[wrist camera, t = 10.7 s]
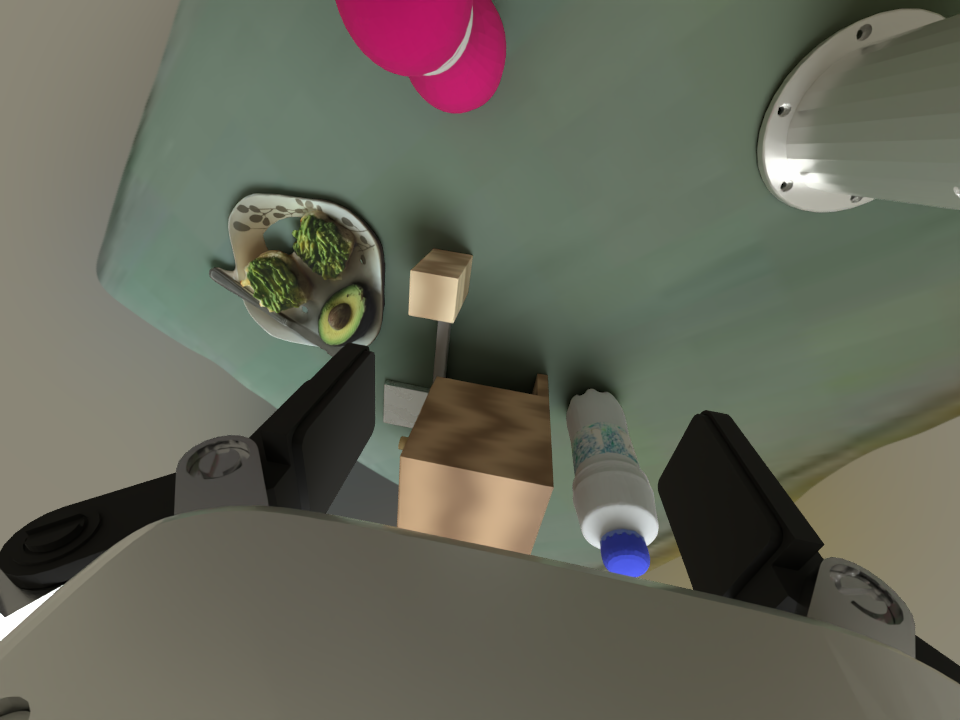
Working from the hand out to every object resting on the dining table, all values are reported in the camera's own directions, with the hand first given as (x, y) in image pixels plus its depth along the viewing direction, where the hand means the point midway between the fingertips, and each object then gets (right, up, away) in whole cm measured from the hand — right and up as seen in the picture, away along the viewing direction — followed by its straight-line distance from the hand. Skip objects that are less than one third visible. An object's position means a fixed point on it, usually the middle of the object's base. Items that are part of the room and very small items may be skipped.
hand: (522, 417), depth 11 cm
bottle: (+12, -4, +33) cm, 35 cm away
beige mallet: (-6, +3, +32) cm, 33 cm away
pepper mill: (-2, +26, +19) cm, 32 cm away
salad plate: (-19, +11, +30) cm, 37 cm away
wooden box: (0, -5, +36) cm, 36 cm away
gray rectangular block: (-10, -4, +37) cm, 38 cm away
